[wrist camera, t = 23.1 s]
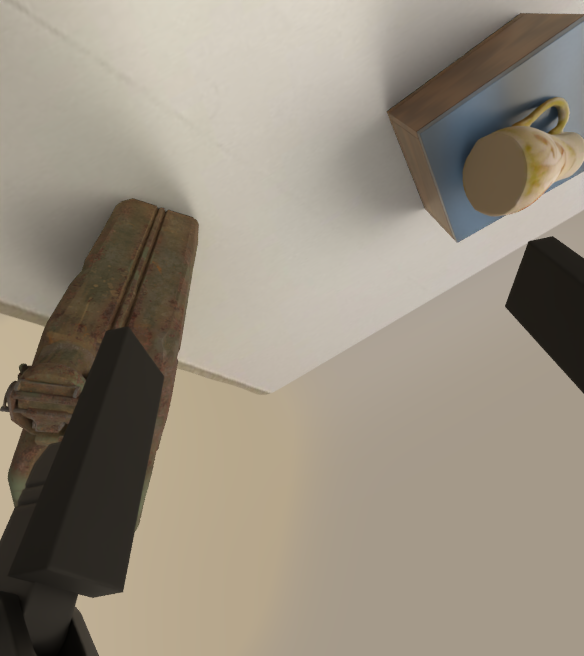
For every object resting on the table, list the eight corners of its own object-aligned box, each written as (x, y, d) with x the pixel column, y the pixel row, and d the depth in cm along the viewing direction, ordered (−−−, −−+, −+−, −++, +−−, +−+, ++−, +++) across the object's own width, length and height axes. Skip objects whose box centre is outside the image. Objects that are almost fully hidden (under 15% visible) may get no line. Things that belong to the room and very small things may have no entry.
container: (174, 336, 55) (134, 547, 34) (106, 323, 52) (13, 549, 30) (206, 212, 42) (174, 430, 20) (117, 183, 38) (-36, 409, 17)
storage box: (520, 12, 32) (585, 13, 26) (535, 141, 41) (587, 163, 35) (386, 111, 37) (415, 131, 31) (424, 208, 45) (453, 239, 39)
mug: (553, 180, 35) (559, 245, 30) (456, 162, 37) (446, 221, 32) (611, 100, 29) (630, 166, 24) (490, 83, 30) (485, 141, 25)
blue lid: (598, 4, 26) (606, 4, 25) (596, 158, 34) (602, 160, 34) (416, 131, 31) (419, 134, 30) (454, 239, 39) (457, 243, 38)
